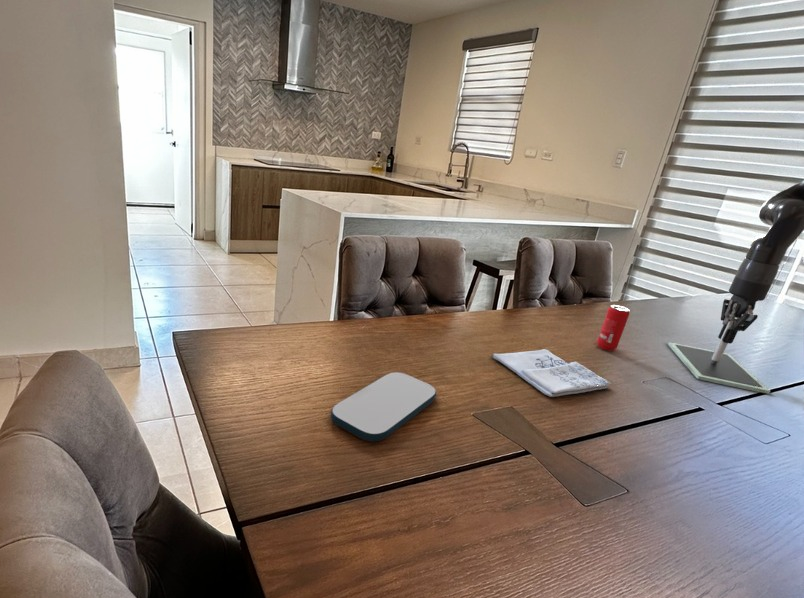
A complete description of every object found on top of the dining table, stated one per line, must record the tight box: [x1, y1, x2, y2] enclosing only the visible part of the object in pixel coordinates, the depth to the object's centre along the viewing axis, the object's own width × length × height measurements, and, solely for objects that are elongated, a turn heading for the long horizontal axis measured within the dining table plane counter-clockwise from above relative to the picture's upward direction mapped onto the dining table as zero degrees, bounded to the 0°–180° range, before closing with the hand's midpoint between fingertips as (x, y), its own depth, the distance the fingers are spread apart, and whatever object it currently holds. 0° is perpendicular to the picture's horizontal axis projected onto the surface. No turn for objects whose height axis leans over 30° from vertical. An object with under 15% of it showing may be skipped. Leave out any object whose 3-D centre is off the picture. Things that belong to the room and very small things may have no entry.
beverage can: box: [596, 304, 630, 352], centre depth 130 cm, size 5×5×12 cm
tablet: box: [667, 341, 771, 395], centre depth 128 cm, size 16×23×1 cm
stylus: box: [711, 322, 735, 364], centre depth 125 cm, size 2×2×12 cm
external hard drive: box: [330, 371, 437, 443], centre depth 90 cm, size 24×12×2 cm, turn 143°
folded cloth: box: [492, 348, 612, 398], centre depth 112 cm, size 19×20×2 cm
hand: (724, 340), depth 125 cm, fingers closed on stylus, 2 cm apart
